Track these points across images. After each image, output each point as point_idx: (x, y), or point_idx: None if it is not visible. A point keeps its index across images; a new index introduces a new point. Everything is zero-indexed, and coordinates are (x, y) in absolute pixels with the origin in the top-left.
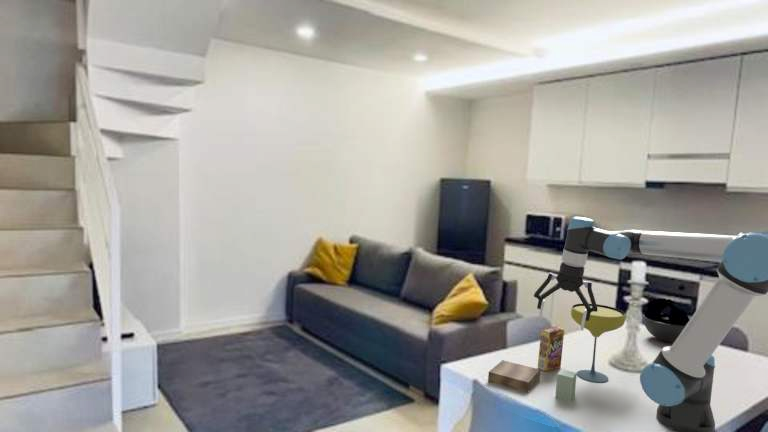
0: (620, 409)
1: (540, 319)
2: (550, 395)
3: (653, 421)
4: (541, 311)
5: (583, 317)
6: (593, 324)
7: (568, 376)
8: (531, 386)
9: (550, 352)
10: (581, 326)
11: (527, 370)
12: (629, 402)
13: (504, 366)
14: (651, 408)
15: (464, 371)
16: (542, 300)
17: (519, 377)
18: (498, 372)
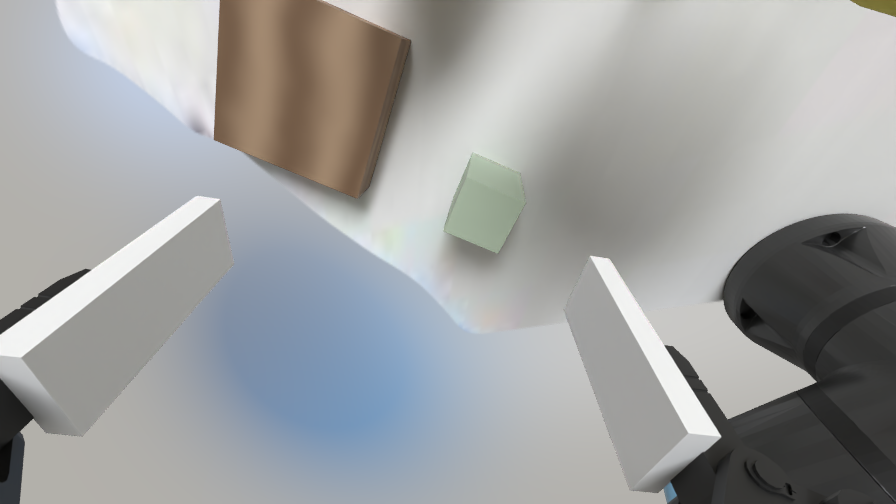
0: (642, 234)
1: (230, 264)
2: (439, 188)
3: (707, 285)
4: (174, 319)
5: (603, 411)
6: (859, 5)
7: (482, 245)
8: (377, 151)
9: None
10: (572, 332)
11: (347, 73)
12: (710, 175)
13: (251, 55)
14: (768, 204)
15: (134, 58)
16: (25, 404)
17: (324, 162)
18: (246, 136)
